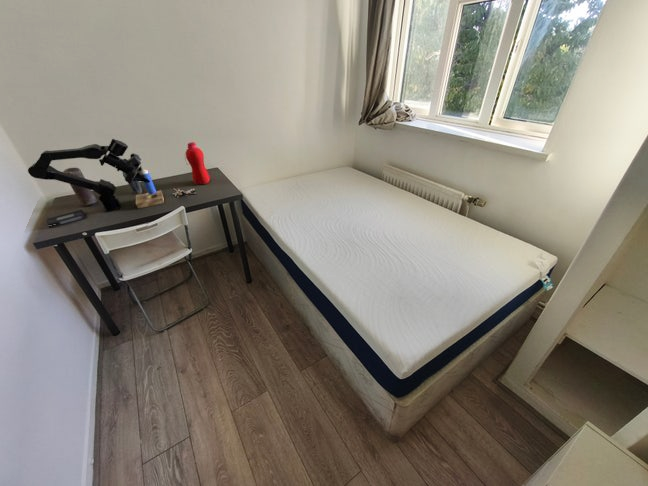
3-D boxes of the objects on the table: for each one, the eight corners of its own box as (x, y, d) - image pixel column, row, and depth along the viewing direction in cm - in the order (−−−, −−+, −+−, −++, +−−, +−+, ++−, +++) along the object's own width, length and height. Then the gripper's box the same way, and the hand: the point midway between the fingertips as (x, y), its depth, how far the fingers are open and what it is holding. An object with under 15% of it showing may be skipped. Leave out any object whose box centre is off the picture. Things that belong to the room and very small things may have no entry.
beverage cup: (133, 196, 161) (117, 163, 150) (130, 192, 166) (114, 159, 154) (146, 192, 165) (132, 160, 153) (143, 188, 170) (129, 156, 158)
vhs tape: (84, 218, 141) (82, 214, 140) (49, 228, 134) (47, 224, 133) (83, 212, 146) (81, 209, 145) (49, 222, 139) (47, 218, 137)
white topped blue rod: (148, 194, 151) (138, 171, 143) (148, 192, 154) (138, 168, 146) (156, 193, 152) (147, 169, 144) (156, 190, 155) (147, 167, 147)
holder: (138, 208, 149) (135, 203, 147) (138, 199, 157) (136, 195, 156) (164, 202, 154) (162, 198, 152) (163, 194, 162) (161, 190, 161)
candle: (96, 199, 159) (78, 166, 147) (99, 203, 154) (80, 169, 143) (80, 203, 154) (60, 169, 142) (83, 208, 150) (62, 173, 138)
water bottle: (194, 180, 180) (182, 141, 165) (211, 179, 181) (200, 140, 166) (190, 185, 172) (177, 145, 158) (208, 184, 173) (196, 144, 158)
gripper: (122, 156, 131) (156, 174, 140) (129, 145, 145) (159, 163, 155) (110, 174, 133) (144, 191, 143) (119, 162, 147) (149, 178, 157)
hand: (150, 180), depth 149 cm, fingers closed on white topped blue rod, 4 cm apart
